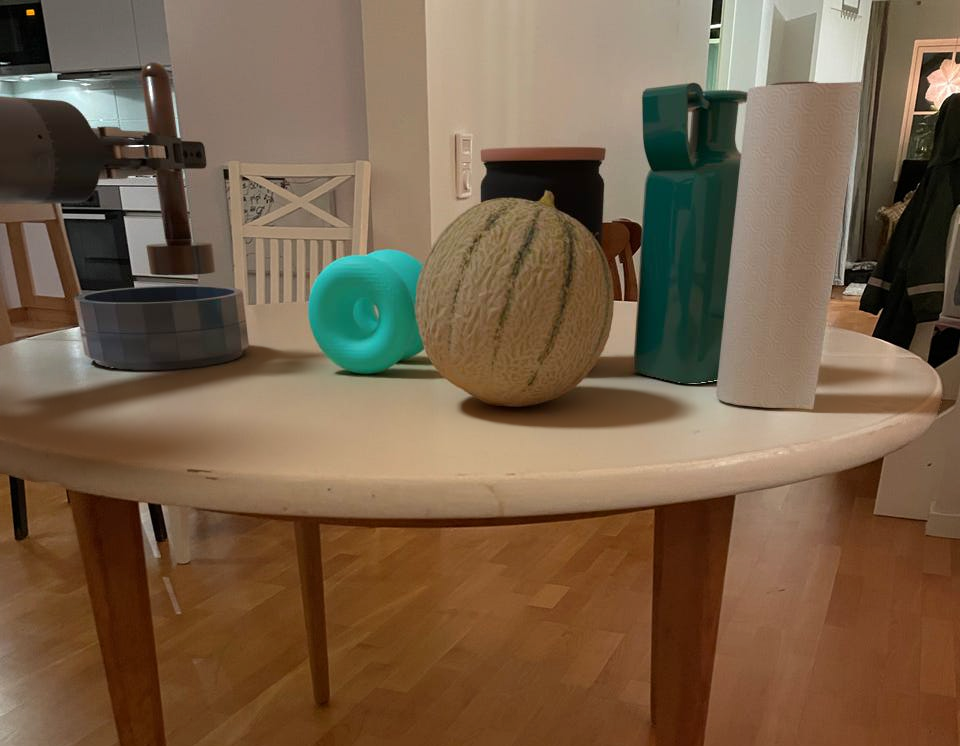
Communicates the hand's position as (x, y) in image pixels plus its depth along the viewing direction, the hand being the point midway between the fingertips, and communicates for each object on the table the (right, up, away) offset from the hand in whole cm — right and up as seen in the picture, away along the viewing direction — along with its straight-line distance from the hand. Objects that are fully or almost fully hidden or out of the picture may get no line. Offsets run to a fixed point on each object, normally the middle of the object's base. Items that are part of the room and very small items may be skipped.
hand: (191, 155), depth 86 cm
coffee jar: (+33, -20, 0) cm, 38 cm away
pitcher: (+45, -22, -4) cm, 51 cm away
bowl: (-4, -17, +6) cm, 18 cm away
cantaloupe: (+30, -27, -14) cm, 43 cm away
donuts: (+18, -20, +1) cm, 26 cm away
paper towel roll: (+49, -27, -14) cm, 58 cm away
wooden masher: (-2, -10, +2) cm, 10 cm away
